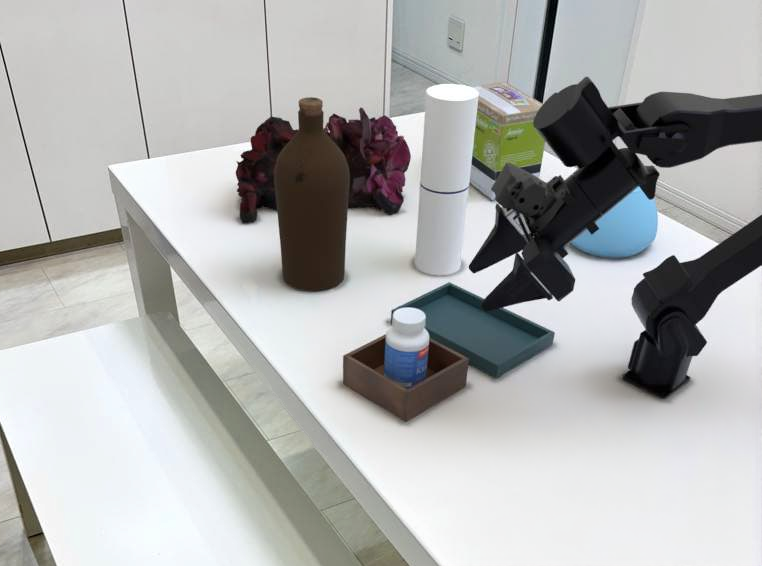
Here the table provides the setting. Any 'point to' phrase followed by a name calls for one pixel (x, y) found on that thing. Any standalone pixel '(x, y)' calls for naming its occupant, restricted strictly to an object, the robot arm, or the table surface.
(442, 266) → the cylindrical container
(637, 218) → the sugar bowl
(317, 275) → the olive oil
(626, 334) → the table surface
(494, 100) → the tea box
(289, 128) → the flower arrangement
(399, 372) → the pill bottle
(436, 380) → the open box
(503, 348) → the tray
